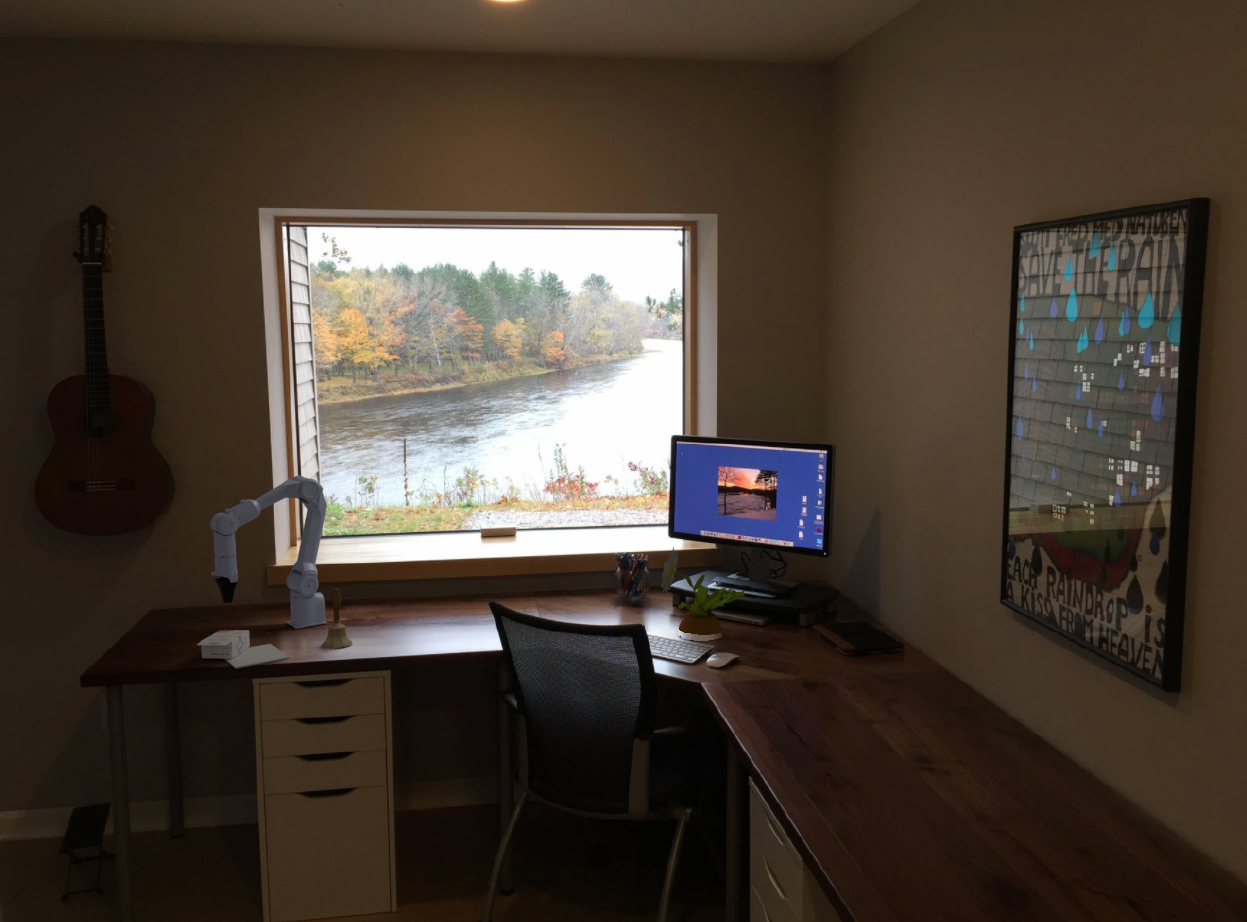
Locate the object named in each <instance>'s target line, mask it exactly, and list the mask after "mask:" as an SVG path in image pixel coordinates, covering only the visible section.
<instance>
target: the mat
mask: <svg viewBox="0 0 1247 922" xmlns="http://www.w3.org/2000/svg"><path fill="white" fill-rule="evenodd" d="M288 659H290V657H289V655H286V653H284V652H283V651H282V650H280V649H279V648H277V647H276V646H274V645H273V644H272V643H267V644H262V645H255V646H250V647H248V648H247V649H245V650H244V651H242V652H241V653H239V654H238V655H236V656H235V657H233V658H232V659H224V661H226V662H227V663H228V664H230V666H231V667H233V668H234V669H236V670H237V669H241V668H242V669H243V668H246V667H251V666H258V665H261V664H267V663H271V662H272V663H273V662H277V661H283V660H284V661H285V660H288Z"/></svg>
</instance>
